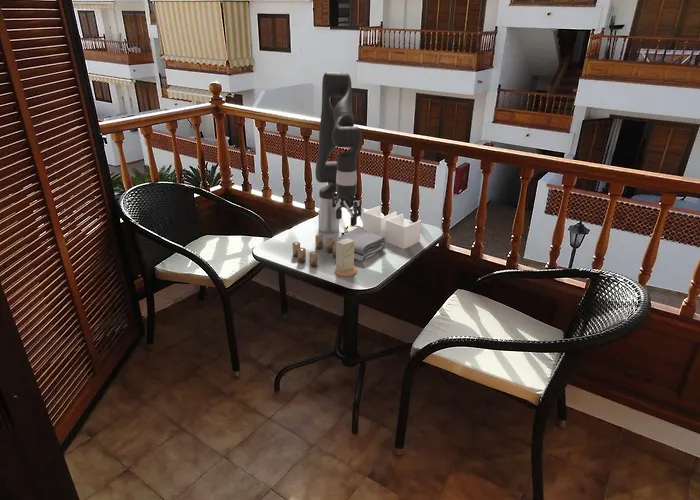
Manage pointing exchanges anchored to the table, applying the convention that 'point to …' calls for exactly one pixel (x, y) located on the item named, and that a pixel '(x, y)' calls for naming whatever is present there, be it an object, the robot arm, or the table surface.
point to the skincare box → (345, 255)
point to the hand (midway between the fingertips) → (346, 222)
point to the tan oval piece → (347, 273)
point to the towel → (364, 243)
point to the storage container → (391, 228)
